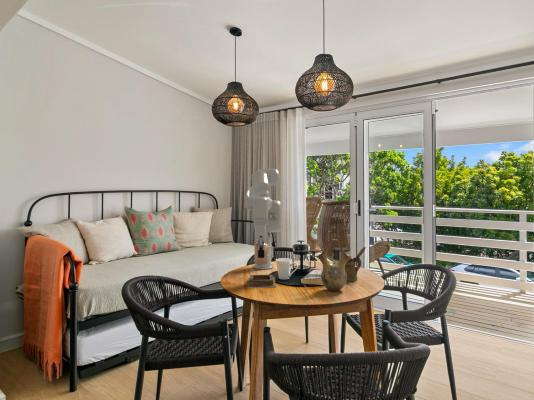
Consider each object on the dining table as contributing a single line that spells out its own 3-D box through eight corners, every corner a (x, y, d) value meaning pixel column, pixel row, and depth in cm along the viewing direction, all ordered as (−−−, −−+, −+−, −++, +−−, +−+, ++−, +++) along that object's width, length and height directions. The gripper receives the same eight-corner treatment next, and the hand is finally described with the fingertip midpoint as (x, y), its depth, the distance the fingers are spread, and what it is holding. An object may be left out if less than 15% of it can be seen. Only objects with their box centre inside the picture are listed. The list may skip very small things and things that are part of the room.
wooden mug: (366, 282, 173) (366, 248, 172) (340, 281, 175) (340, 247, 175) (364, 278, 182) (364, 245, 181) (339, 277, 184) (339, 244, 183)
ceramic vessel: (316, 292, 157) (316, 239, 156) (316, 287, 166) (316, 237, 165) (352, 293, 155) (352, 240, 154) (350, 287, 164) (350, 237, 163)
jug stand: (248, 280, 180) (248, 272, 180) (274, 279, 180) (274, 272, 180) (246, 291, 160) (246, 283, 160) (275, 290, 160) (275, 282, 160)
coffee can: (330, 273, 193) (330, 249, 193) (335, 269, 202) (335, 246, 202) (348, 275, 188) (348, 250, 188) (352, 271, 198) (352, 247, 197)
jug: (254, 264, 167) (254, 245, 166) (254, 261, 173) (254, 242, 173) (273, 264, 167) (273, 244, 166) (273, 261, 174) (273, 242, 173)
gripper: (253, 219, 178) (254, 252, 179) (252, 223, 160) (253, 260, 161) (267, 219, 178) (268, 252, 179) (268, 223, 160) (268, 259, 161)
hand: (261, 255), depth 170 cm, fingers closed on jug, 6 cm apart
